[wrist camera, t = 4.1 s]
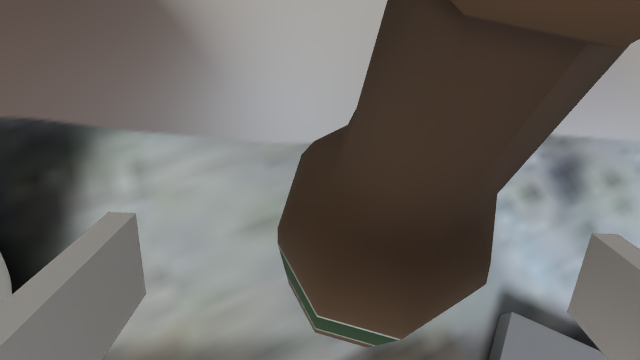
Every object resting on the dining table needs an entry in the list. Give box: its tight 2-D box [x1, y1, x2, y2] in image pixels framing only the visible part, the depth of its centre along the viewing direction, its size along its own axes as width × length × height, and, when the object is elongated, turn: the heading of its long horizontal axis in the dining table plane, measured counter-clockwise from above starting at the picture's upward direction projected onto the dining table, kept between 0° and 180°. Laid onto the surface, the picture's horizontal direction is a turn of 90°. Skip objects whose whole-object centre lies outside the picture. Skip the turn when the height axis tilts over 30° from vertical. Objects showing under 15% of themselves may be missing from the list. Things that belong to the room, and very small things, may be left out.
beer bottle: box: [278, 0, 640, 347], centre depth 14 cm, size 8×8×24 cm
